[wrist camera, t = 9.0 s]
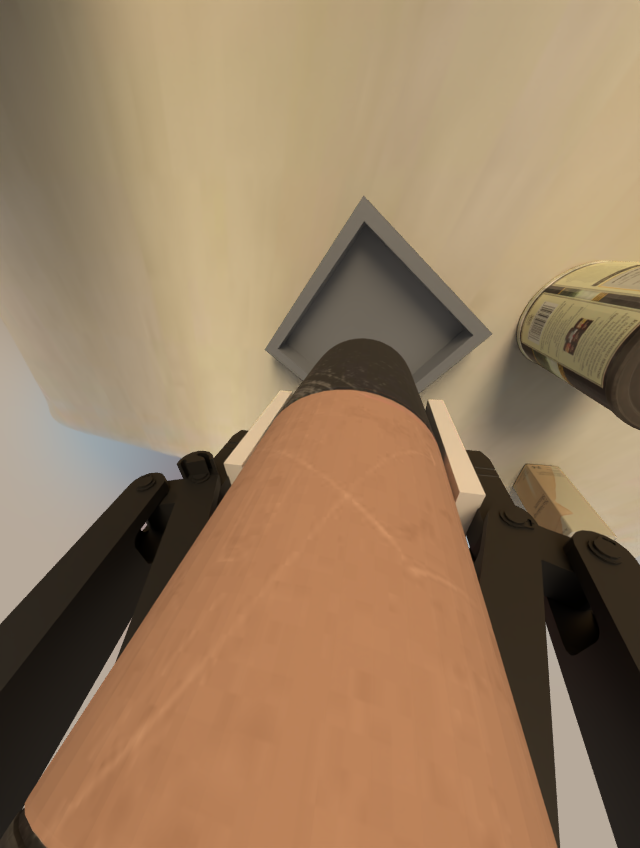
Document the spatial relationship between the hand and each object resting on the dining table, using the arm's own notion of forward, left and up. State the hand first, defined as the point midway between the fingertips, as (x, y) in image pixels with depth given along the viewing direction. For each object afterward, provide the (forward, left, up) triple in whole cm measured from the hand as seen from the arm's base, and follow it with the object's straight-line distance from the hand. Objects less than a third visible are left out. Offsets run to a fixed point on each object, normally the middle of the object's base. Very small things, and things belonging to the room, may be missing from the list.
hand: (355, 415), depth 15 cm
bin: (0, 0, -20) cm, 20 cm away
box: (+33, +1, -20) cm, 39 cm away
